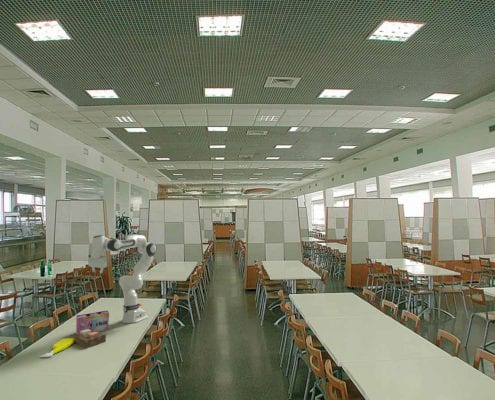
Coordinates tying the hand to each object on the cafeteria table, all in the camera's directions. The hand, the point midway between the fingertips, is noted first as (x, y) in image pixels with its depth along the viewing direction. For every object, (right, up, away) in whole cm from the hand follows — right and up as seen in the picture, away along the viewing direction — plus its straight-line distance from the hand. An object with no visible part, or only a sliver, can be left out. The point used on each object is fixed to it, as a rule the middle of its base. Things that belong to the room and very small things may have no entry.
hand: (97, 272), depth 246 cm
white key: (+1, -43, -19) cm, 47 cm away
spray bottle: (-10, -45, -35) cm, 58 cm away
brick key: (+9, -42, -25) cm, 50 cm away
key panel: (+5, -45, -22) cm, 51 cm away
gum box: (-4, -47, -1) cm, 47 cm away
